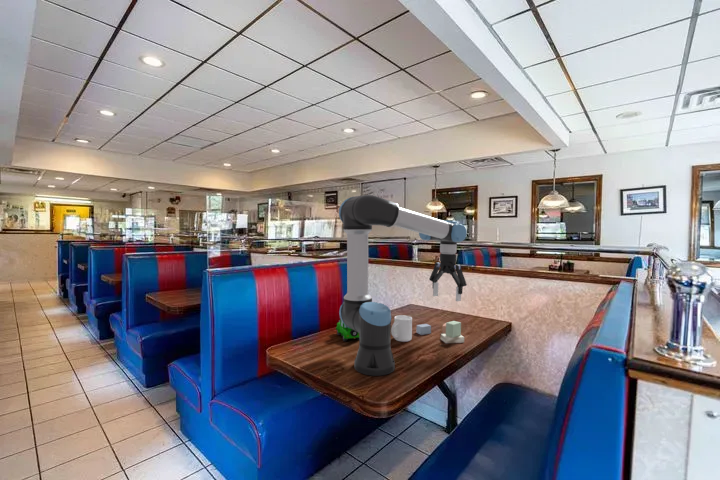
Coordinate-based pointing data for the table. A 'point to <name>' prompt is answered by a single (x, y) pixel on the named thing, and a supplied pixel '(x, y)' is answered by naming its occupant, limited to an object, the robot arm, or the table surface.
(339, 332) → the toy car
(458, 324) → the green brick
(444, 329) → the terracotta brick
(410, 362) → the table surface
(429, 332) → the slate brick
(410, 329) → the mug
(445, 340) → the cream brick
